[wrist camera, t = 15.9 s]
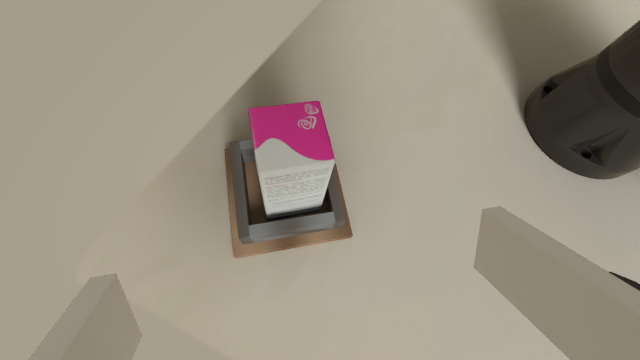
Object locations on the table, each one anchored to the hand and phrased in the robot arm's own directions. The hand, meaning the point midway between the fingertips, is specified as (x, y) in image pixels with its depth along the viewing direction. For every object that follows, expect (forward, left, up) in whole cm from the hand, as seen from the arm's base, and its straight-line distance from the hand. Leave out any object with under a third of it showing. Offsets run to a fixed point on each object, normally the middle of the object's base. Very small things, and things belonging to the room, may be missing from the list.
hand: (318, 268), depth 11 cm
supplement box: (0, -10, -19) cm, 22 cm away
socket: (0, -11, -20) cm, 23 cm away
